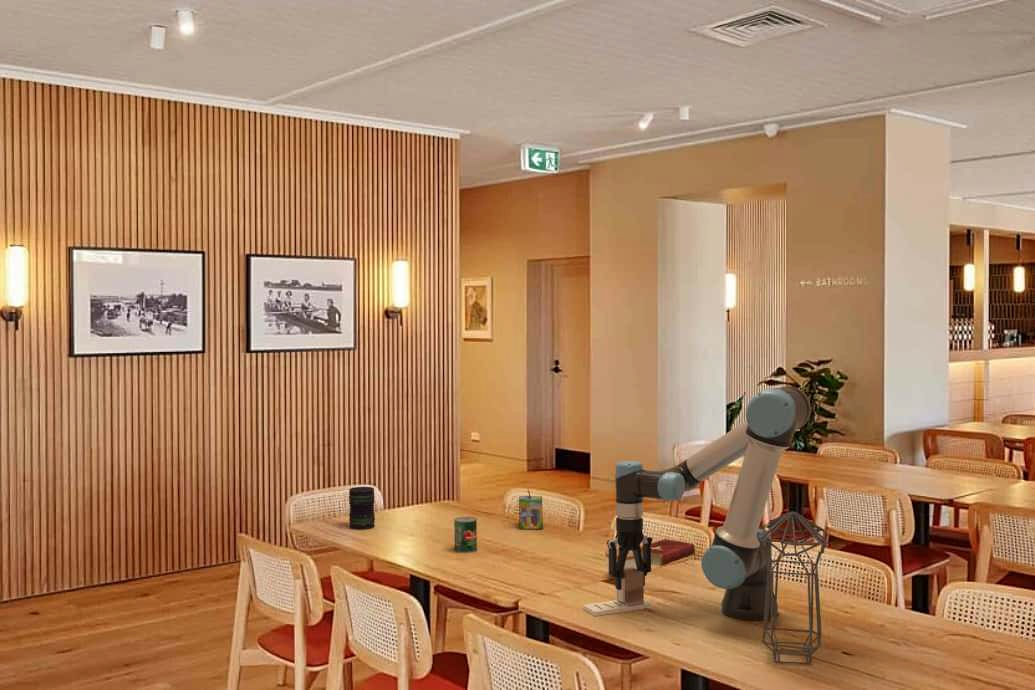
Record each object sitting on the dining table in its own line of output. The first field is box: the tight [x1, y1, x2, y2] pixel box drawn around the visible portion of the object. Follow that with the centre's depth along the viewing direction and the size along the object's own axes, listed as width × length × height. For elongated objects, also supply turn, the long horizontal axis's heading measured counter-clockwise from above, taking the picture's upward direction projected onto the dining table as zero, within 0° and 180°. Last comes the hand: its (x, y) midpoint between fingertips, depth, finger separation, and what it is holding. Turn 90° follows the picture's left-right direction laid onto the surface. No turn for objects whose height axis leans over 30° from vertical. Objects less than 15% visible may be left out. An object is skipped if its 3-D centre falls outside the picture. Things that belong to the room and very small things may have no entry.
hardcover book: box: [640, 538, 696, 567], centre depth 334 cm, size 12×21×4 cm, turn 139°
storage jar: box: [348, 486, 376, 531], centre depth 386 cm, size 10×10×15 cm
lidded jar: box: [605, 547, 637, 572], centre depth 310 cm, size 11×11×9 cm
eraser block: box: [616, 567, 645, 606], centre depth 278 cm, size 6×5×9 cm
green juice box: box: [518, 488, 544, 531], centre depth 383 cm, size 9×9×15 cm
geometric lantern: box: [759, 511, 829, 665], centre depth 235 cm, size 16×16×35 cm
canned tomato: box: [453, 516, 478, 554], centre depth 346 cm, size 8×8×11 cm
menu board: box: [582, 599, 653, 617], centre depth 277 cm, size 7×18×1 cm, turn 114°
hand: (630, 599), depth 278 cm, fingers closed on eraser block, 5 cm apart
